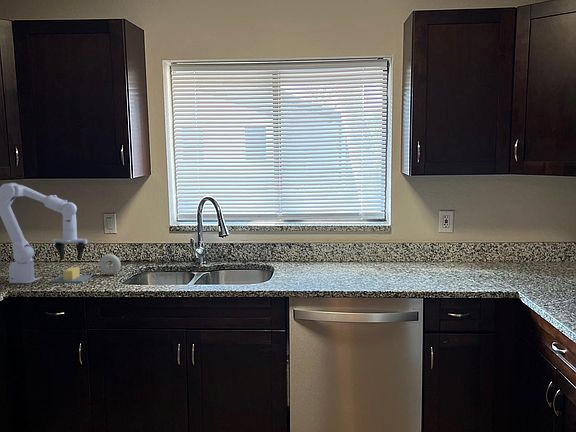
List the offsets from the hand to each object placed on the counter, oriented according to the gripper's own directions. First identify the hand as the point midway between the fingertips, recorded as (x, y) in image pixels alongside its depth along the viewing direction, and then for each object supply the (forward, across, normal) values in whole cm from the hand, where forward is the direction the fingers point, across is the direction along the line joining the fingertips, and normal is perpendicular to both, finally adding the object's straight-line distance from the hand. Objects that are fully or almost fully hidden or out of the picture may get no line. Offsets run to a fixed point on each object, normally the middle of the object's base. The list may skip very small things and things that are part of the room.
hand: (71, 259), depth 231 cm
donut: (+10, +14, +10) cm, 20 cm away
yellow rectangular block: (+8, 0, 0) cm, 8 cm away
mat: (+9, 0, 0) cm, 9 cm away
